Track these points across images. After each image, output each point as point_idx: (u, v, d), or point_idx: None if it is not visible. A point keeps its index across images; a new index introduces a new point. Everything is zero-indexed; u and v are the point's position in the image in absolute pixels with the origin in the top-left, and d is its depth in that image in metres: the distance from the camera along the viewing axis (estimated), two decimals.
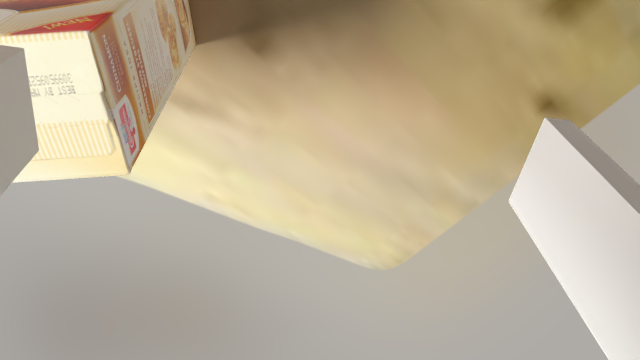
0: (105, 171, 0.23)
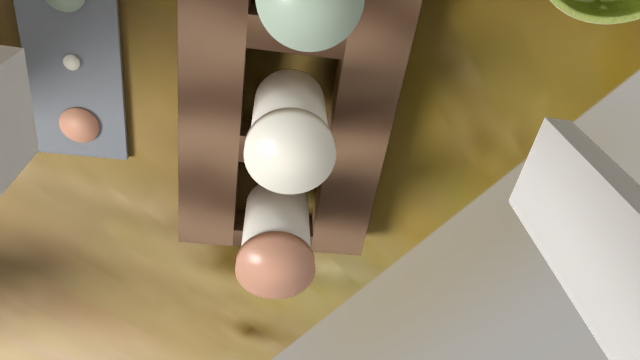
0: None
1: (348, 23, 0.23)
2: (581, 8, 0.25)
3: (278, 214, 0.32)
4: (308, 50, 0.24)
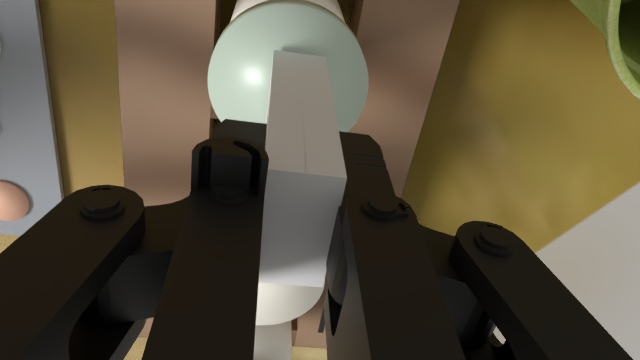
0: None
1: (343, 120, 0.16)
2: None
3: None
4: None
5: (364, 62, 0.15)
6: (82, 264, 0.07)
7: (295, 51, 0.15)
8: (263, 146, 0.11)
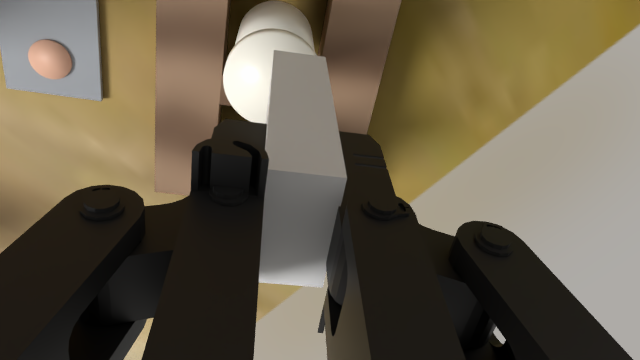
0: None
1: None
2: None
3: None
4: None
5: None
6: (82, 264, 0.07)
7: None
8: (263, 146, 0.11)
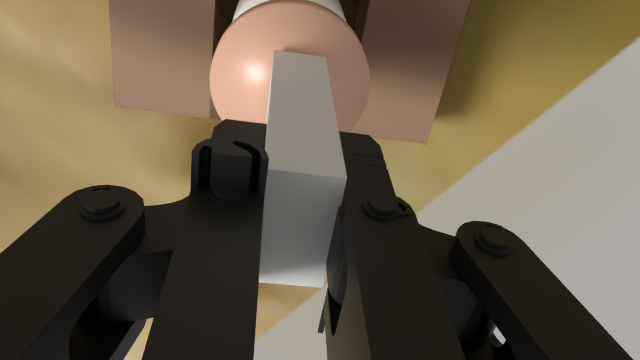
0: None
1: None
2: None
3: None
4: None
5: None
6: (82, 264, 0.07)
7: None
8: (263, 146, 0.11)
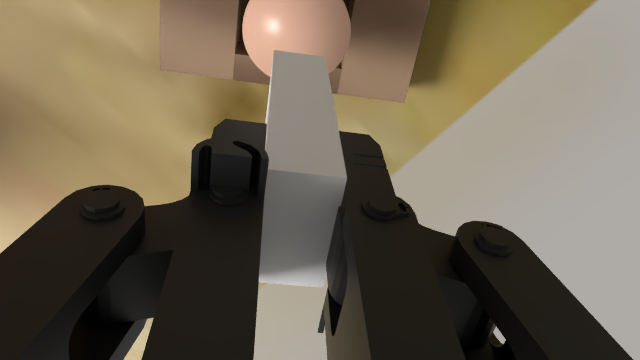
0: None
1: None
2: None
3: None
4: None
5: None
6: (82, 264, 0.07)
7: None
8: (263, 146, 0.11)
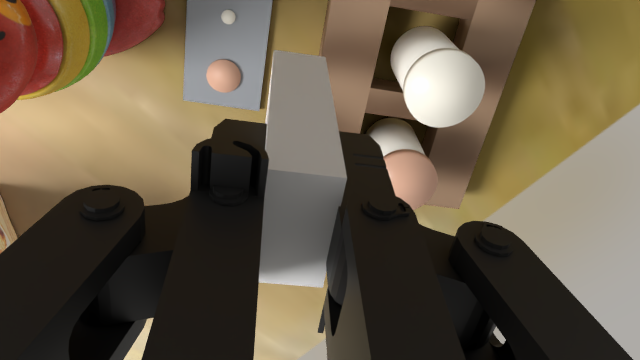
0: None
1: None
2: None
3: (403, 139, 0.38)
4: None
5: None
6: (82, 264, 0.07)
7: None
8: (263, 146, 0.11)
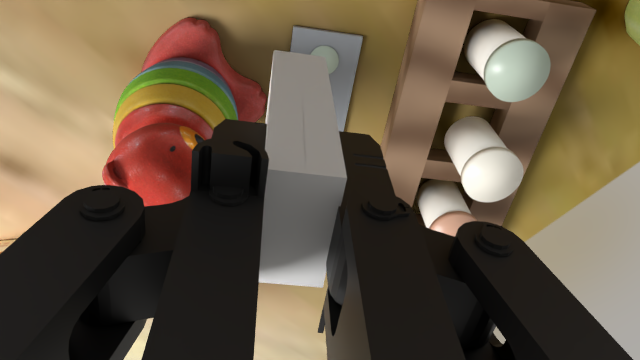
0: None
1: (536, 86, 0.39)
2: None
3: (453, 200, 0.48)
4: (509, 101, 0.40)
5: (549, 62, 0.38)
6: (82, 264, 0.07)
7: (524, 58, 0.38)
8: (263, 146, 0.11)
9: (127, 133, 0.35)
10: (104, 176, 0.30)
